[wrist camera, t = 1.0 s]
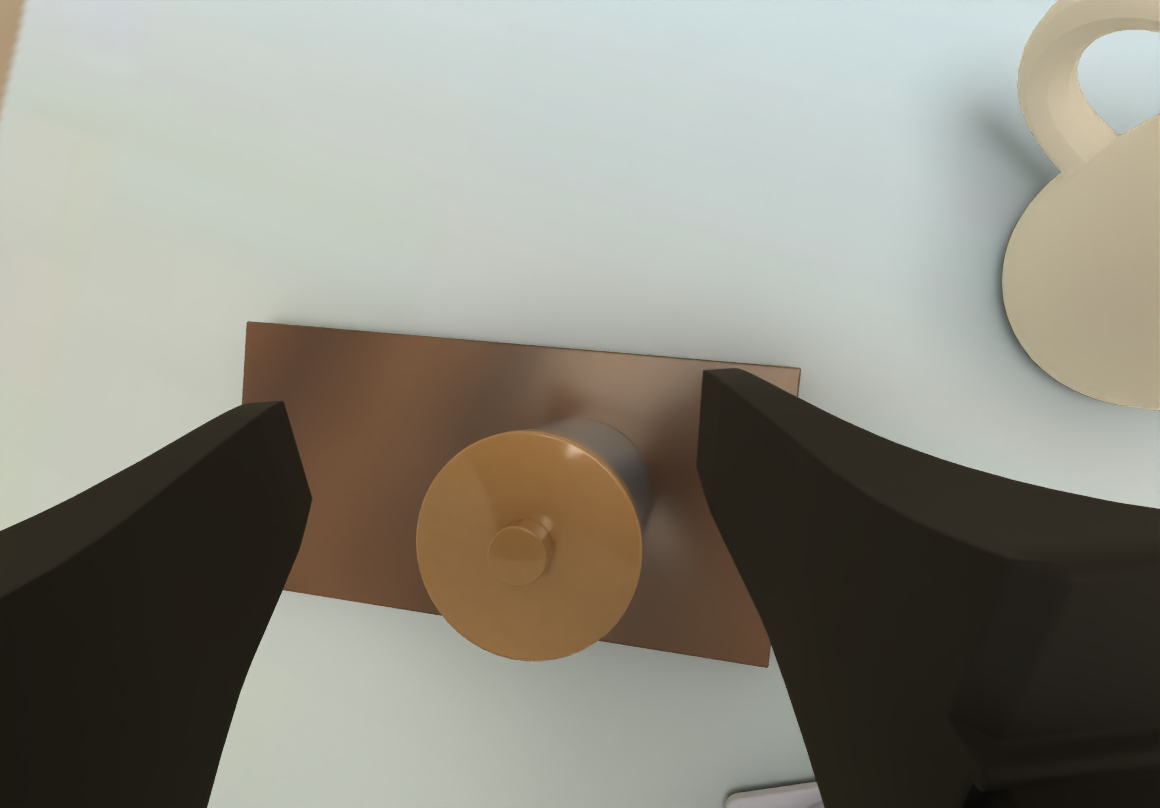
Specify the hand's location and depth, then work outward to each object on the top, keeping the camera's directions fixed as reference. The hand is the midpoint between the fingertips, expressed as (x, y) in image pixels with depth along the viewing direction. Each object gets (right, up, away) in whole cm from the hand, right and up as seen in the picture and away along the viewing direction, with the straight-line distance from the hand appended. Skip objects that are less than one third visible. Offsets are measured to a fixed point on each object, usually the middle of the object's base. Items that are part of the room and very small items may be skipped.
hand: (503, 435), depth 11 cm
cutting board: (-2, -2, +13) cm, 13 cm away
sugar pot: (+1, -3, +11) cm, 11 cm away
